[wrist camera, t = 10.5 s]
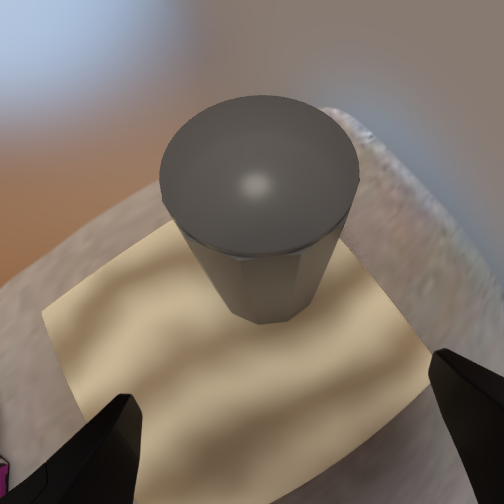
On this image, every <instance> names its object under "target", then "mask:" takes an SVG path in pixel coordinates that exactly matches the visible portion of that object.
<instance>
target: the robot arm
mask: <svg viewBox="0 0 504 504" xmlns="http://www.w3.org/2000/svg"><path fill="white" fill-rule="evenodd" d="M428 377H429V380H430V383H431V386H432V388H433V391H434V394H435V397H436V400H437V403H438V406H439V409H440V412H441V414H442V417H443V419H444V422H445V424H446V426H447V428H448V430H449V433H450V435H451V437H452V439H453V442H454V444H455V446H456V448H457V451H458V453H459V455H460V458H461V460H462V463H463V465H464V468H465V470H466V473H467V475H468V478H469V480H470V483H471V485H472V488H473V491H474V493H475V496H476V499H477V502H478V504H504V377H502V376H500V375H498V374H496V373H494V372H492V371H490V370H488V369H486V368H484V367H482V366H480V365H478V364H476V363H474V362H472V361H471V360H469V359H467V358H465V357H463V356H461V355H459V354H457V353H455V352H453V351H451V350H449V349H446V348H443V349H440V350H437V351H435V352H434V353H433V355H432V358H431V362H430V366H429V369H428ZM142 421H143V415H142V411H141V409H140V407H139V405H138V403H137V402H136V400H135V398H134V396H133V395H132V394H130V393H120V394H118V395H117V396H116V397H114V398H113V399H112V400H111V401H110V402H109V403H108V404H107V405H106V406H105V407H104V408H103V409H102V410H101V411H100V412H99V413H97V414H96V415H95V416H94V417H93V418H92V419H91V420H90V421H89V422H88V423H87V424H86V425H85V426H84V427H82V428H81V429H80V430H79V431H78V432H77V433H76V434H75V435H74V436H73V437H72V438H71V439H70V440H69V441H67V442H66V443H65V444H64V445H63V446H62V447H61V448H60V449H59V450H58V451H57V452H56V453H54V454H53V455H52V456H51V457H50V458H49V459H48V460H47V461H46V462H45V463H44V464H42V465H41V466H40V467H39V468H38V469H37V470H36V471H35V472H34V473H32V474H31V475H30V476H29V477H28V478H26V479H25V480H24V481H23V482H21V483H20V484H19V485H17V486H16V487H15V488H13V489H12V490H11V491H9V492H8V493H6V494H5V495H4V496H2V497H1V498H0V504H133V499H134V492H135V486H136V480H137V474H138V468H139V462H140V451H141V435H142Z"/></svg>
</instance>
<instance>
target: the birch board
mask: <svg viewBox="0 0 504 504" xmlns="http://www.w3.org/2000/svg"><path fill="white" fill-rule="evenodd" d="M41 313H42V316H43V319H44V322H45V325H46V328H47V331H48V334H49V337H50V340H51V342H52V345H53V348H54V350H55V353H56V356H57V358H58V361H59V363H60V366H61V368H62V370H63V373H64V375H65V377H66V380H67V382H68V384H69V386H70V389H71V391H72V393H73V395H74V397H75V399H76V401H77V404H78V406H79V408H80V410H81V412H82V414H83V416H84V417H85V419H86V421H87V423H88V422H89V421H90V420H91V419H92V418H93V417H94V416H95V415H96V414H97V413H99V412H100V411H101V410H102V409H103V408H104V407H105V406H106V405H107V404H108V403H109V402H110V401H111V400H112V399H113V398H114V397H116V396H117V395H118V394H120V393H130V394H132V395H133V396H134V398H135V400H136V402H137V403H138V405H139V407H140V409H141V411H142V415H143V421H142V435H141V451H140V462H139V468H138V474H137V480H136V486H135V492H134V499H135V500H136V501H137V503H138V504H270V503H272V502H273V501H275V500H277V499H279V498H281V497H282V496H284V495H286V494H288V493H289V492H291V491H293V490H295V489H296V488H298V487H300V486H301V485H303V484H305V483H306V482H308V481H309V480H311V479H313V478H314V477H316V476H317V475H319V474H320V473H322V472H323V471H325V470H326V469H328V468H329V467H331V466H332V465H334V464H335V463H336V462H338V461H339V460H341V459H342V458H344V457H345V456H346V455H348V454H349V453H350V452H352V451H353V450H354V449H356V448H357V447H358V446H360V445H361V444H362V443H364V442H365V441H366V440H367V439H369V438H370V437H371V436H372V435H374V434H375V433H376V432H377V431H379V430H380V429H381V428H382V427H383V426H385V425H386V424H387V423H388V422H389V421H390V420H392V419H393V418H394V417H395V416H396V415H397V414H398V413H399V412H401V411H402V410H403V409H404V408H405V407H406V406H407V405H408V404H409V403H410V402H411V401H413V400H414V399H415V398H416V397H417V396H418V395H419V394H420V393H421V392H422V391H423V390H424V389H425V388H426V387H427V386H428V385H429V384H430V380H429V377H428V369H429V366H430V362H431V358H432V355H431V353H430V352H429V351H428V349H427V348H426V347H425V345H424V344H423V342H422V341H421V340H420V338H419V337H418V336H417V334H416V333H415V332H414V330H413V329H412V328H411V326H410V325H409V324H408V322H407V321H406V320H405V318H404V317H403V316H402V314H401V313H400V312H399V310H398V309H397V308H396V307H395V305H394V304H393V303H392V301H391V300H390V299H389V298H388V296H387V295H386V294H385V293H384V291H383V290H382V289H381V288H380V286H379V285H378V284H377V283H376V281H375V280H374V279H373V278H372V276H371V275H370V274H369V273H368V272H367V270H366V269H365V268H364V267H363V265H362V264H361V263H360V262H359V261H358V259H357V258H356V257H355V256H354V255H353V253H352V252H351V251H350V250H349V249H348V248H347V246H346V245H345V244H344V243H343V242H342V241H341V239H340V238H339V239H338V242H337V244H336V246H335V249H334V251H333V254H332V256H331V258H330V261H329V263H328V265H327V268H326V270H325V272H324V274H323V277H322V279H321V281H320V284H319V286H318V288H317V290H316V292H315V295H314V297H313V299H312V301H311V303H310V305H309V306H308V307H306V308H305V309H304V310H302V311H301V312H300V313H298V314H297V315H296V316H294V317H293V318H291V319H290V320H289V321H287V322H280V323H271V324H262V325H257V324H255V323H253V322H250V321H248V320H246V319H244V318H241V317H239V316H237V315H235V314H233V313H231V311H230V310H229V308H228V307H227V306H226V304H225V303H224V301H223V300H222V298H221V297H220V295H219V294H218V293H217V291H216V289H215V288H214V286H213V285H212V283H211V282H210V280H209V278H208V277H207V275H206V273H205V272H204V270H203V269H202V267H201V265H200V264H199V262H198V260H197V259H196V257H195V255H194V254H193V252H192V251H191V249H190V247H189V246H188V244H187V242H186V241H185V239H184V237H183V236H182V234H181V232H180V230H179V229H178V227H177V225H176V224H175V222H174V220H171V221H169V222H168V223H166V224H165V225H163V226H162V227H160V228H159V229H157V230H156V231H154V232H152V233H151V234H149V235H148V236H146V237H145V238H143V239H142V240H140V241H139V242H137V243H136V244H134V245H133V246H131V247H130V248H129V249H127V250H126V251H124V252H123V253H121V254H120V255H118V256H117V257H115V258H114V259H113V260H111V261H110V262H108V263H107V264H105V265H104V266H103V267H101V268H100V269H98V270H97V271H96V272H94V273H93V274H91V275H90V276H89V277H87V278H86V279H84V280H83V281H82V282H80V283H79V284H78V285H76V286H75V287H73V288H72V289H71V290H69V291H68V292H67V293H65V294H64V295H63V296H61V297H60V298H59V299H57V300H56V301H55V302H53V303H52V304H51V305H50V306H48V307H47V308H46V309H44V310H43V311H42V312H41Z"/></svg>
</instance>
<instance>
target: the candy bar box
mask: <svg viewBox="0 0 504 504" xmlns="http://www.w3.org/2000/svg"><path fill="white" fill-rule="evenodd" d="M7 478H8V463H7V462H6V461H5V460H4V459H3V458H2V457H1V456H0V498H1V497H2V496H4V495H5V494H6V493H7Z"/></svg>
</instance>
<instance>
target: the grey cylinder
mask: <svg viewBox="0 0 504 504" xmlns="http://www.w3.org/2000/svg"><path fill="white" fill-rule="evenodd" d="M359 181H360V178H359V162H358V157H357V154H356V150H355V148H354V146H353V144H352V142H351V140H350V138H349V137H348V135H347V134H346V132H345V131H344V130H343V129H342V128H341V127H340V125H339V124H337V123H336V122H335V121H334V120H333V119H332V118H331V117H329V116H328V115H327V114H325V113H324V112H322V111H320V110H319V109H317V108H315V107H313V106H311V105H308V104H306V103H304V102H300V101H297V100H294V99H290V98H285V97H279V96H266V95H259V96H246V97H240V98H235V99H231V100H228V101H224V102H221V103H219V104H216V105H214V106H212V107H209V108H207V109H205V110H204V111H202V112H200V113H199V114H197V115H196V116H194V117H193V118H192V119H190V120H189V121H188V122H187V123H186V124H184V125H183V126H182V127H181V128H180V129H179V131H178V132H177V133H176V134H175V135H174V137H173V138H172V140H171V141H170V143H169V144H168V146H167V148H166V150H165V152H164V155H163V158H162V161H161V166H160V179H159V182H160V188H161V193H162V201H163V203H164V205H165V207H166V208H167V210H168V212H169V213H170V215H171V217H172V219H173V220H174V222H175V224H176V225H177V227H178V229H179V230H180V232H181V234H182V236H183V237H184V239H185V241H186V242H187V244H188V246H189V247H190V249H191V251H192V252H193V254H194V255H195V257H196V259H197V260H198V262H199V264H200V265H201V267H202V269H203V270H204V272H205V273H206V275H207V277H208V278H209V280H210V282H211V283H212V285H213V286H214V288H215V289H216V291H217V293H218V294H219V295H220V297H221V298H222V300H223V301H224V303H225V304H226V306H227V307H228V308H229V310H230V311H231V313H233V314H235V315H237V316H239V317H241V318H244V319H246V320H248V321H250V322H253V323H255V324H257V325H262V324H271V323H280V322H287V321H289V320H290V319H291V318H293V317H294V316H296V315H297V314H298V313H300V312H301V311H302V310H304V309H305V308H306V307H308V306H309V305H310V303H311V301H312V299H313V297H314V295H315V292H316V290H317V288H318V286H319V284H320V281H321V279H322V277H323V274H324V272H325V270H326V268H327V265H328V263H329V261H330V258H331V256H332V254H333V251H334V249H335V246H336V244H337V242H338V239H339V237H340V234H341V232H342V229H343V227H344V224H345V222H346V219H347V216H348V213H349V211H350V208H351V205H352V202H353V199H354V196H355V194H356V191H357V187H358V184H359Z"/></svg>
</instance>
